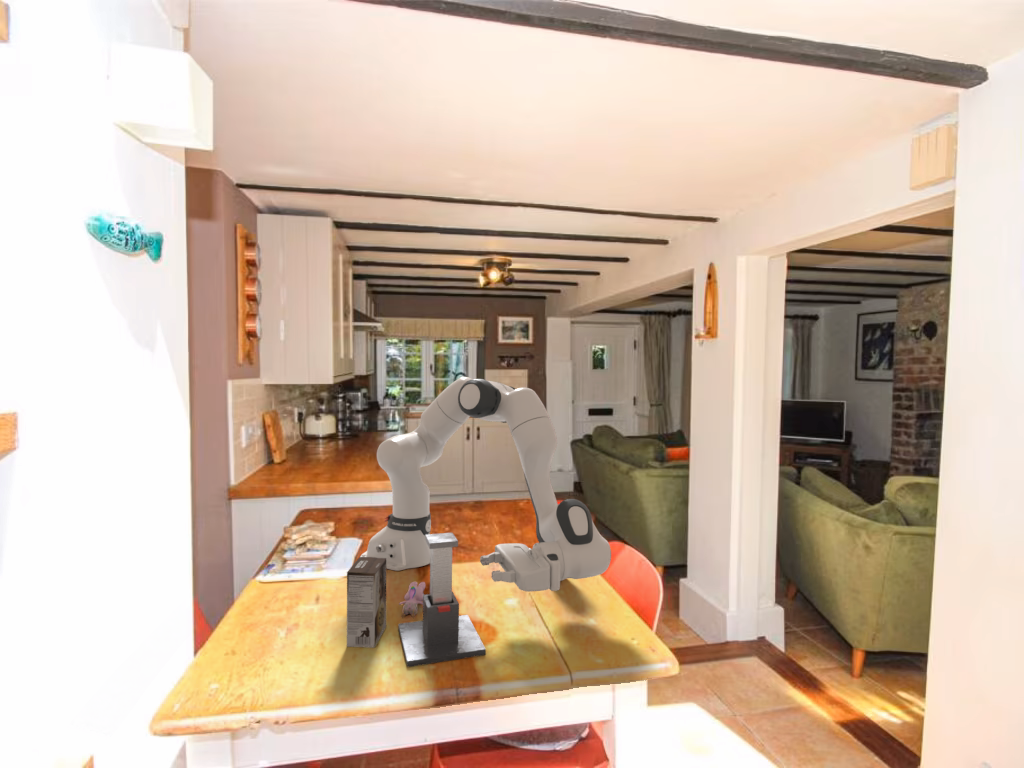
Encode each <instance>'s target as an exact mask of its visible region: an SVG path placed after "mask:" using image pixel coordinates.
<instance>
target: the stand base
mask: <svg viewBox="0 0 1024 768" xmlns="http://www.w3.org/2000/svg"><path fill="white" fill-rule="evenodd" d="M422 602H423V605H422V620H417V621H411V622H401V623H398V626H397V627H398V630H397V631H398V632H399V638H400V642H401V646H402V650H403V654H404V655H403V656H404V658H405V664H406V667H407V668H411V667H417V666H423V665H424V666H425V665H429V664H436V663H442V662H443V663H444V662H448V661H455V660H460V659H469V658H473V657H481V656H485V655H486V654H487V653H486V651H487V650H486V647H485V645H484V643H483V641H482V640H481V637H480V635H479V634H478V632H477V630H476V628H475V626H474V624H473V623H472V620H471V618H470V616H469V614H463V615H460V612H459V611H460V603H459V601H458V599H457V598H456V595H455V594H454V592H453V590H452V603H449V604H441V605H433V606H431V605H430V593H429V594H428V593H427V594H424V595H423V601H422Z"/></svg>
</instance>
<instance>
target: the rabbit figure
mask: <svg viewBox="0 0 1024 768" xmlns="http://www.w3.org/2000/svg"><path fill="white" fill-rule="evenodd" d="M425 588H426V582H425V581H421V582H420V583H419V584H418V582H417V581H412V582H410V584H409V586H408V591H407V592H406V593H405V594H404V601H401V602H398V605H399V606H401V605H403V607H402V610H401V612H402V613H401V616H400V617H401V618H405V616H408V615H409V614H410V615H411V618H412V617H413V618H412V619H415V618H416V615H417V613H418V605H421V606H423V595H425V594H424V591H425Z"/></svg>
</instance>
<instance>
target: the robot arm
mask: <svg viewBox="0 0 1024 768" xmlns="http://www.w3.org/2000/svg"><path fill="white" fill-rule="evenodd" d="M470 418H473V419H478V420H482V421H486V422H495V423H496V422H500V423H503V424H507V426H508V428H509V432H510V434H511V438H512V440H513V442H514V445H515V448H516V451H517V454H518V458H519V461H520V464H521V468H522V471H523V476H524V480H525V483H526V486H527V490H528V493H529V497H530V500H531V503H532V507H533V510H534V514H535V519H536V520H535V523H536V524H535V525H536V526H535V532H536V534H535V535H536V539H537V541H538V542H535V543H534V544H533V545H532V548H531V547H528V546H527V545H526V544H524V543H519V542H517V543H511V542H510V543H499V544H496V545H495V546H494V551H493V552H491V553H489V554H487V555H485V554H484V555H481V556H480V557H479V559H480V560H479V561H480V562H479V563H481V565H482V566H490V564H493V563H495V564H499V565H500V567H501V568H502V570H504V571H501V570H499V569H498V570H492V571H491V579H492V581H493V582H495V583H496V582H504V583H513V584H515V585H516V586H517V588H518V589H519V590H520V591H523V592H527V593H528V592H540V591H547V590H549V591H552V592H556V591H559V590H560V589H561V587H560V586H561V581H565V580H566V579H572V580H582V579H588V578H593V577H597V576H599V575H602V574H604V573H605V572H606V571H607V570H608V568H609V567H610V564H611V560H612V550H611V545H610V544H609V542H608V540H607V539H606V538H605V537H603V535H601V534H600V532H599V530H598V528H597V527H596V525H595V523H594V521H593V518H592V513H591V510H590V509H589V508H588V507H587V505H586V504H585V503H584V502H582V501H581V500H578V499H575V498H566V499H564V500H562V501H560V502H559V503H558V501H557V498H556V495H555V491H554V488H553V486H552V482H551V466H552V462H553V459H554V456H555V452H556V449H557V446H558V440H557V434H556V433H557V432H556V429H555V426H554V424H553V421H552V419H551V417H550V415H549V413H548V411H547V408H546V406H545V405H544V403H543V401H542V400H541V398H540V397H539V395H538V394H537V393H536V391H535V390H533V389H532V388H529V387H518V388H515V387H514V386H509V385H506V384H505V383H502V382H499V381H492V380H486V379H483V378H474V379H473V378H471V377H468V376H461V377H459V378H457V379H456V380H455V381H452V383H450V384H449V385H448V386H447V387H445V388H444V390H442V391H441V392H440V393H439V394H438V395H437V396H436V397H435V398H434V399H433V400H432V402H431V403H430V404H429V405H428V406H427V407H426V408H425V409H424V411H422V413H421V414H420V422H419V424H418V426H417V427H416V428H415V429H414V430H413V431H411V432H408V433H403V434H397V435H393V436H391V437H389V438H387V439H385V440H384V441H382V442H381V443H380V444H379V446H378V448H377V450H376V460H377V463H378V466H380V468H381V469H382V470H384V472H385V473H386V474H387V477H388V478H389V481H390V485H391V491H392V512H391V513H390V514H388V516H387V517H385V518H384V523H386V522H387V524H386V526H385V527H383V528H382V529H381V530H379V531H378V532H376V534H373V536H372V537H371V538H370V540H369V541H368V545H367V550H366V551H365V552H363V553H362V554H361V555H360V556H359V557H375V558H386V570H392V571H394V572H395V571H396V572H399V571H402V570H403V571H404V570H406V569H414V568H415V569H416V568H419V567H423V566H427V565H430V549H429V547H428V545H427V543H426V541H425V535H427V534H431V528H432V526H431V525H432V520H431V519H432V517H431V515H432V514H431V512H430V494H431V493H430V487H429V486H428V485H427V483H425V482H424V480H423V477H422V473H421V472H422V471H421V468H422V467H427V466H430V465H432V464H433V463H435V462H436V461H437V460H439V459H440V458H441V457H442V456H443V453H444V451H445V449H444V448H445V446H446V445H447V444H448V441H449V440H450V438H452V437H453V435H454V434H455V433H456V432H457V431H458V430H459V429H460V428H461V427H462V426H463V425H464V423H466V422H467V421H468V419H470Z"/></svg>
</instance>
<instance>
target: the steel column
mask: <svg viewBox="0 0 1024 768" xmlns="http://www.w3.org/2000/svg"><path fill="white" fill-rule="evenodd" d="M425 541H426V543H427V545H428V547H429V549H430V563H429V594H430V605H431V606H433V605H441V604H449V603H452V591H453V587H452V586H453V548H457V547H459V540H458V539H457V537H456V536H455V534H454V533H453V532H444V533H443V532H442V533H432V534H431V533H430V534H427V535H425Z"/></svg>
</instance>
